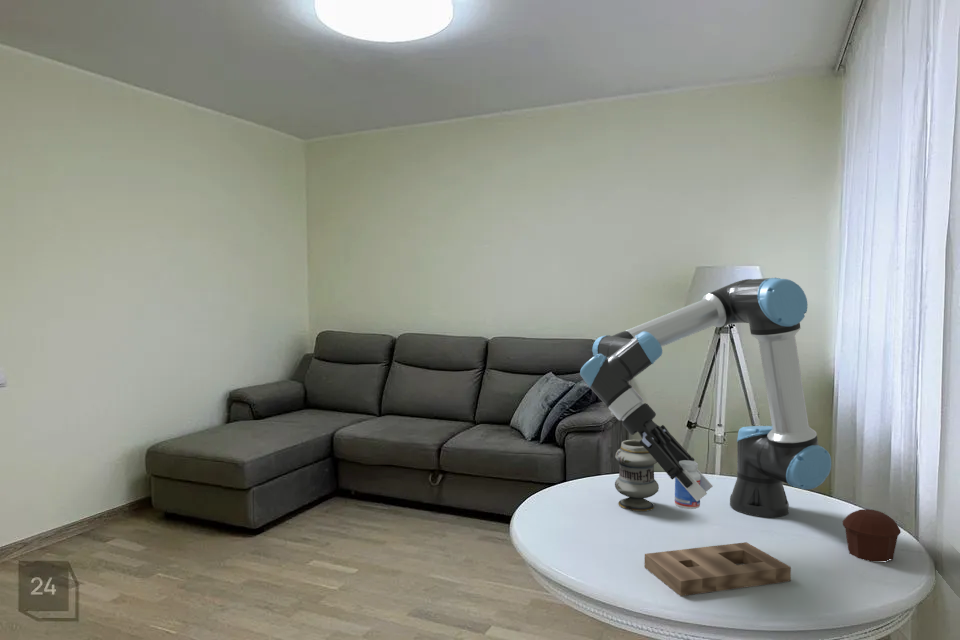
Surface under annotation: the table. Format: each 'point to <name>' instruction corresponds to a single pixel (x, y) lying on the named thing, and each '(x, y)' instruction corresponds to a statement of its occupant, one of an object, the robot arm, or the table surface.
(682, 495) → the pill bottle
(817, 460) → the robot arm
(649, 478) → the apothecary jar
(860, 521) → the muffin
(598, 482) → the table surface
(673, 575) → the socket board
